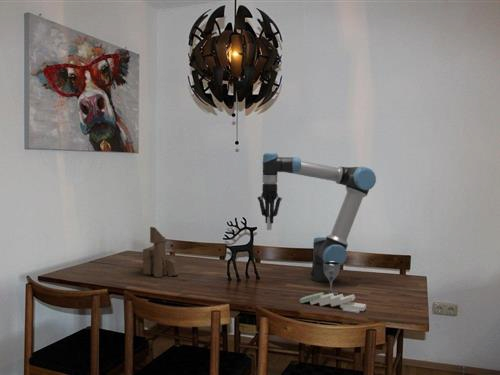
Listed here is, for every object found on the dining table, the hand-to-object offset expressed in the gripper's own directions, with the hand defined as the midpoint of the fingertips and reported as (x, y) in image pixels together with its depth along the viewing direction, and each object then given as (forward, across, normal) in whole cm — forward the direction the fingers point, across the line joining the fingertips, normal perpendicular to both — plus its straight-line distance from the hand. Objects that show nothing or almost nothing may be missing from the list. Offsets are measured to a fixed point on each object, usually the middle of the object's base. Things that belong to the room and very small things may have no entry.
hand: (269, 229), depth 234 cm
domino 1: (+29, +24, -17) cm, 41 cm away
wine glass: (+30, +32, +3) cm, 44 cm away
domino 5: (+28, +43, -17) cm, 54 cm away
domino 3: (+29, +33, -17) cm, 47 cm away
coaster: (+29, +48, -17) cm, 58 cm away
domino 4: (+28, +38, -17) cm, 51 cm away
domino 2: (+29, +29, -17) cm, 44 cm away
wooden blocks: (+30, -64, -2) cm, 71 cm away
